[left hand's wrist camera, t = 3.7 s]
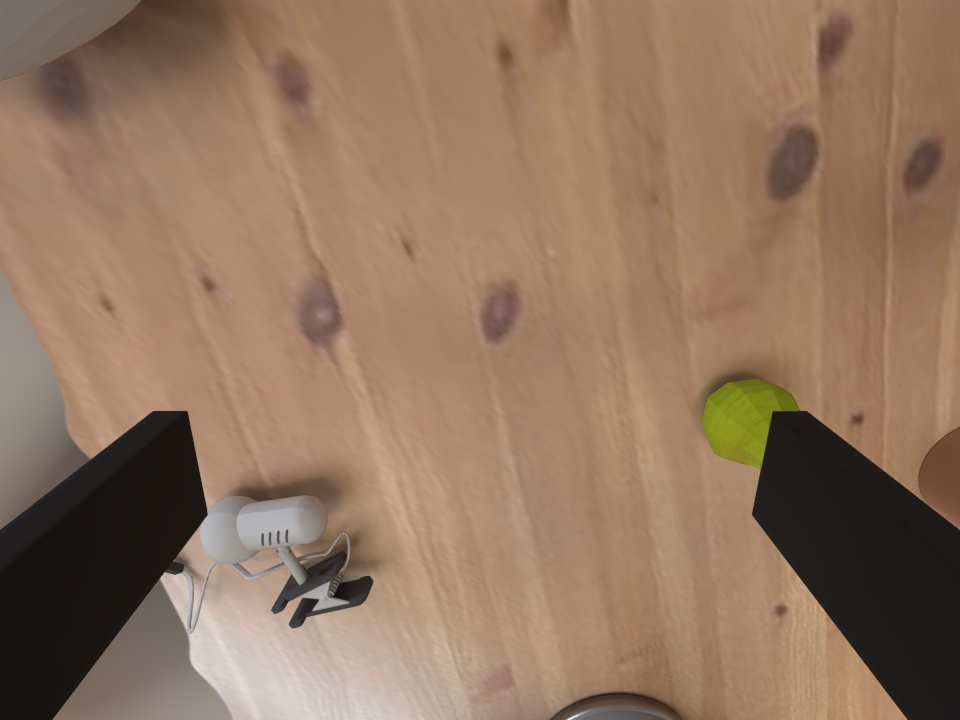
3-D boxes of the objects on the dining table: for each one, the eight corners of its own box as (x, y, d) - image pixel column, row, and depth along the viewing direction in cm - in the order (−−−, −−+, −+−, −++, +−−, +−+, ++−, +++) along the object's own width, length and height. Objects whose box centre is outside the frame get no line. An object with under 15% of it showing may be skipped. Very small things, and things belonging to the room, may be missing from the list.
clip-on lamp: (220, 590, 53) (386, 574, 47) (176, 653, 47) (358, 643, 41) (148, 497, 48) (324, 466, 42) (90, 556, 42) (283, 529, 37)
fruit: (757, 351, 41) (862, 424, 30) (785, 416, 43) (893, 509, 32) (677, 390, 42) (749, 475, 31) (707, 452, 44) (785, 554, 33)
